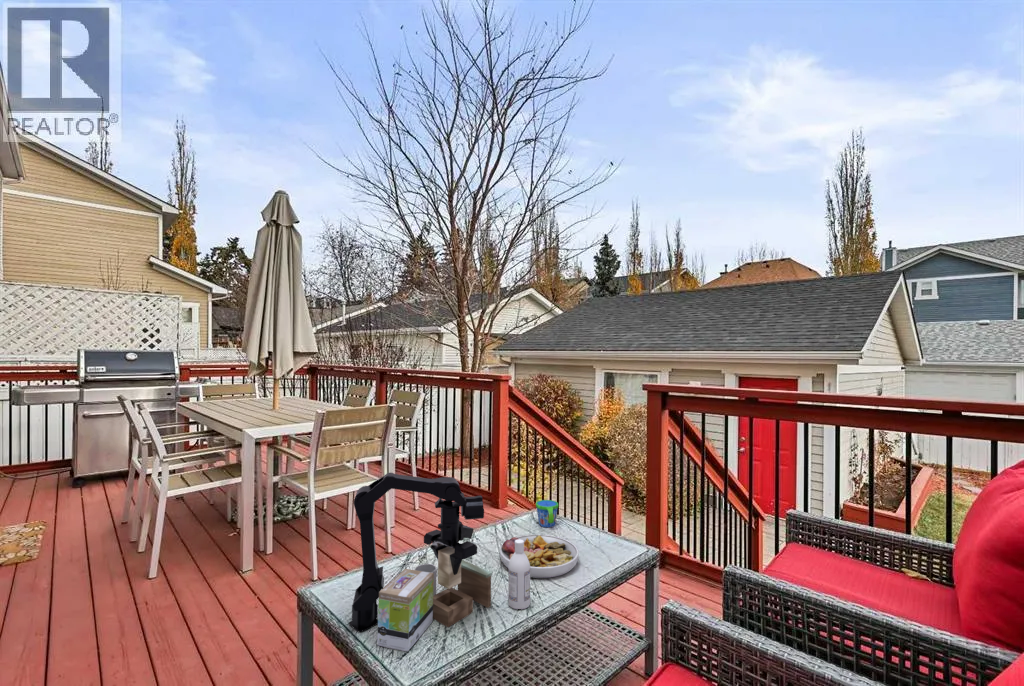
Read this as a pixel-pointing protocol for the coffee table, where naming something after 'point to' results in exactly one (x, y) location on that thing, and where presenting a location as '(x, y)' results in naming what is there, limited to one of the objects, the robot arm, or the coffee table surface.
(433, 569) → the cup
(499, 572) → the coffee table surface
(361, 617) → the robot arm
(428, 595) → the tea box
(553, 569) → the bowl
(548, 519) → the snack cup
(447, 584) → the peg
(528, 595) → the bath foam
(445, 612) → the socket block
